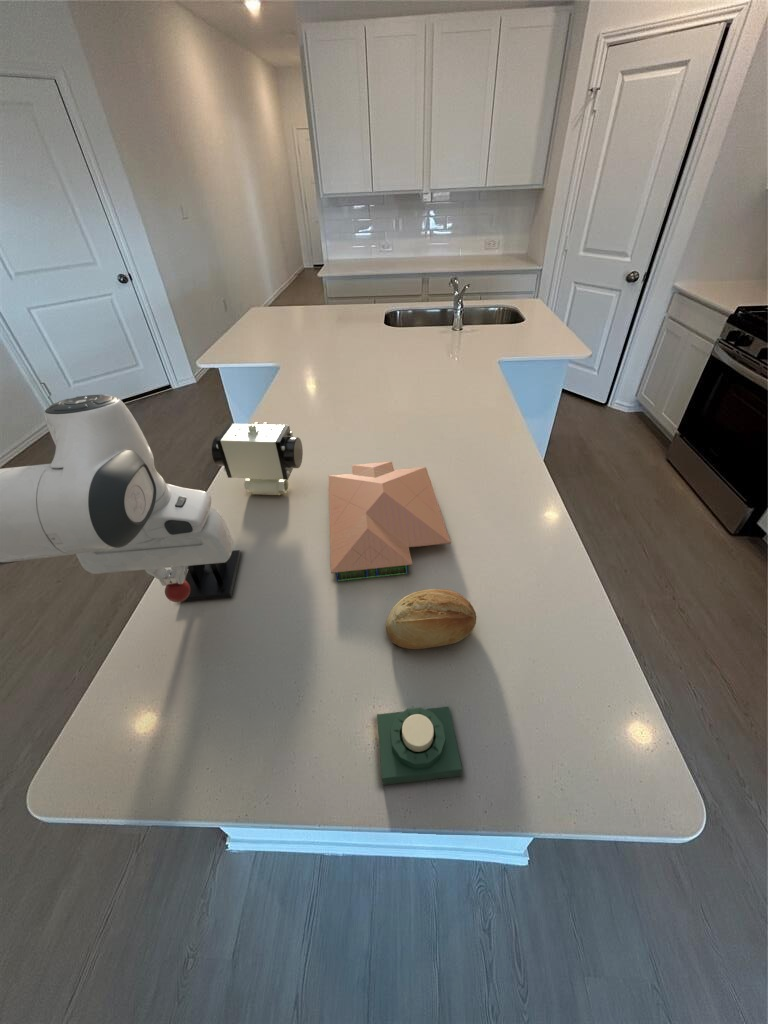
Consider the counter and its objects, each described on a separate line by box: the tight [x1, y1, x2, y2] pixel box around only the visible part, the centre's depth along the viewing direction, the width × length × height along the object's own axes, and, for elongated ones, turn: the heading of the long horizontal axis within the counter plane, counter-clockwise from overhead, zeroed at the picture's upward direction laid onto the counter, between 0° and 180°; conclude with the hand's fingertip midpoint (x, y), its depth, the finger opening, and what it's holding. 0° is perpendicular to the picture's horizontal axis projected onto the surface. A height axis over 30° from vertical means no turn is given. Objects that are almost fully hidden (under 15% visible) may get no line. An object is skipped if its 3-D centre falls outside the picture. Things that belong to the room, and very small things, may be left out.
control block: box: [376, 706, 463, 786], centre depth 57 cm, size 10×8×4 cm
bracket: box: [180, 549, 242, 603], centre depth 79 cm, size 11×9×14 cm
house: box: [328, 461, 451, 582], centre depth 92 cm, size 23×33×8 cm
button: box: [402, 714, 434, 752], centre depth 56 cm, size 4×4×2 cm
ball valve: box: [211, 421, 304, 496], centre depth 98 cm, size 18×8×18 cm, turn 84°
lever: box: [164, 566, 191, 603], centre depth 72 cm, size 15×4×4 cm, turn 5°
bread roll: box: [384, 588, 477, 650], centre depth 70 cm, size 10×15×8 cm, turn 100°
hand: (174, 581), depth 67 cm, fingers closed, pressing on lever
